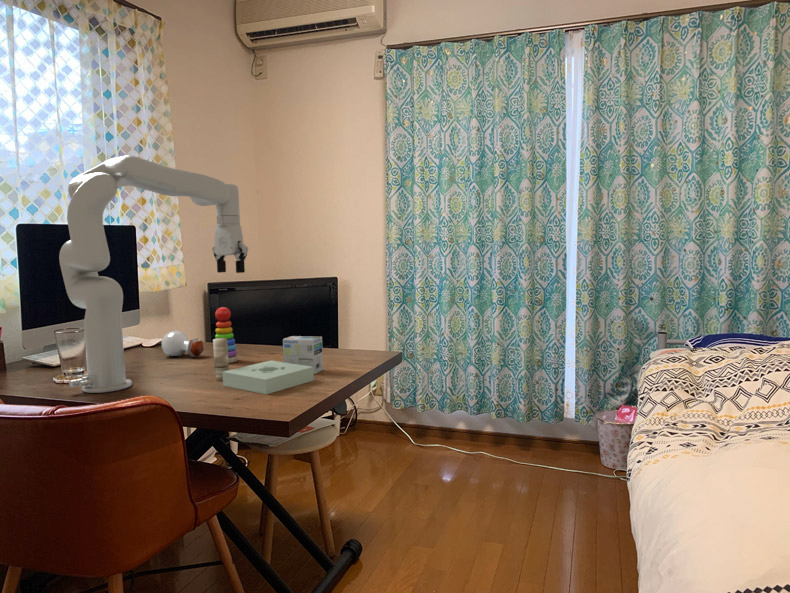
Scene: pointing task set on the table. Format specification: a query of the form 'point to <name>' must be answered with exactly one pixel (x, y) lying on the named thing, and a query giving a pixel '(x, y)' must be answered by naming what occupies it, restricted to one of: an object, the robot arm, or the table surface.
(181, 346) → the potion bottle
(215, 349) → the peg
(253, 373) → the board
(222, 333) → the stacking toy
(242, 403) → the table surface
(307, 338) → the light bulb box
